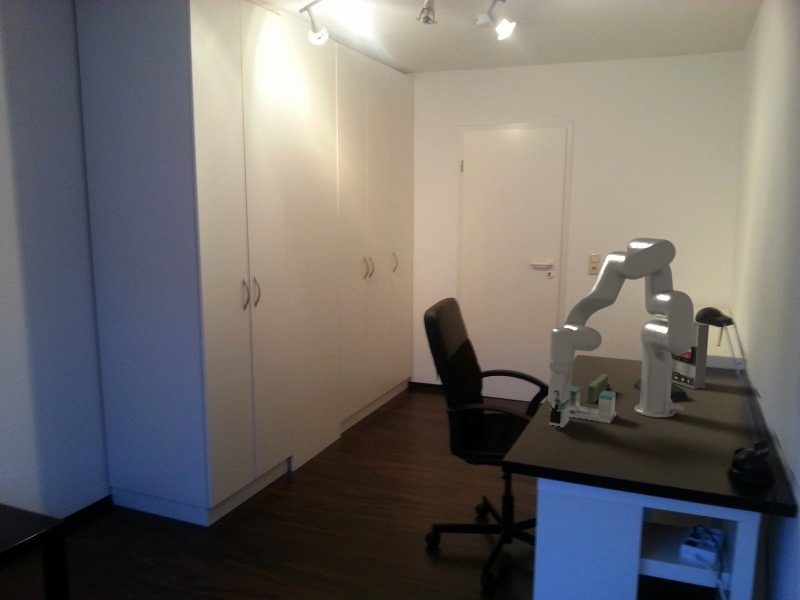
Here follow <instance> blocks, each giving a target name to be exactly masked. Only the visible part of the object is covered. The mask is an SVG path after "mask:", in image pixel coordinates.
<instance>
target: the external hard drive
mask: <svg viewBox="0 0 800 600" xmlns="http://www.w3.org/2000/svg"><path fill="white" fill-rule="evenodd" d="M633 387H634V388H633V389H635V388H636V389H637V390H639V391H640V392H641V379H637V380H636V381H635V383H634V385H633ZM636 389H635V390H636ZM637 390H636V391H637ZM639 391H638V392H639ZM640 392H639V393H640ZM670 399H672V402H689V401H690V397H689V395H688V393H687V391H686V390H685V389H683V388H682V387H681V386H679V385H678V384H676V383H673V382H671V396H670Z"/></svg>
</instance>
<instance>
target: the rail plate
mask: <svg viewBox="0 0 800 600" xmlns="http://www.w3.org/2000/svg"><path fill="white" fill-rule="evenodd" d="M581 389H582V388H581V387H579V386H574V385H571V394H570V398H569V401H570V407H569V418H573V417H575V418H574V419H579V418H581V419H580V420H585V419H587V420H586V421H591V420H593V421H592V422H597V421H598V422H599V423H604V422H605V424H611V423H612V421H613V420H614V419H615V418H614V417H616V416H617V411H616V410H615V408H616V407H615V406H616V395H617V393H616V392H615V391H608V390H607V391H602V392H601V393H600V395H599V399H598V408H594V407H587V406H582V405H581V404H580V403H581Z"/></svg>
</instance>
